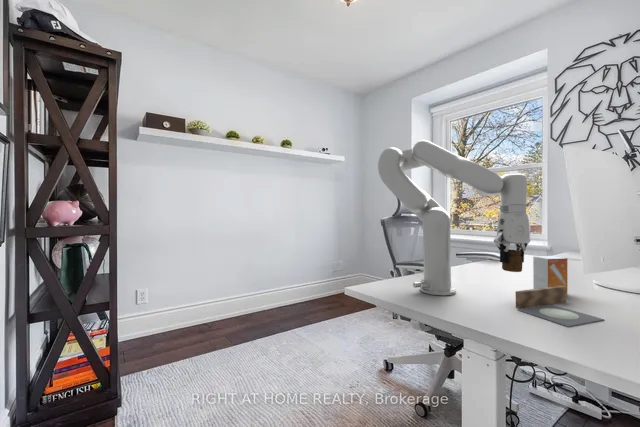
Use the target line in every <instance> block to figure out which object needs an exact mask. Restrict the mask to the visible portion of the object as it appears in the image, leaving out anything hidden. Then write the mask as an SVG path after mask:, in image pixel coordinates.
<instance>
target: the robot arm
mask: <svg viewBox="0 0 640 427" xmlns="http://www.w3.org/2000/svg"><path fill="white" fill-rule="evenodd" d="M378 158H379V159H378V163H377V171H378V174H379V175H378V176H379V177H380V179H381V181H382V183H383V184H384V185H385V186H386V188H387V189H388V190H389V191H390V192H391V193H392V194H393V195H394V196H395V197H396V198H397V199H398V200H399V201H400V202H401V203H402V204H403V206H404V207H405V208H406V209H407V210H408V211H410V212H412V213H413V214H414V215H415V216H416V217H417V218H418V219H419V220H420V221H421V222H422V237H423V238H422V239H423V240H422V242H423V243H422V244H423V246H422V248H423V278H421V280H420V281H414V282H413V283H412V286H413V288H419V291H420V290H421V291H420V292H422V293H425V294H427V295H433V296H452V295H455V294H457V289H456V288H454V287H453V286H452V262H451V261H452V259H451V258H452V257H451V256H452V255H451V253H452V251H451V249H452V248H451V229H452V228H451V227H452V226H451V223H452V222H451V217H450V214H449V212H448V211H447V210H445V209H444V207H442V206H441V205H440V204H439V203H438V202H437V201H436V200H435V199H434V198H433V197H431V195H429V194H428V192H426V191H425V190H424V189H422V188H420V186H418V184H416V183H415V182H414V181H413V180H412V179H411V178H410V177H409V176H408V175H407V174H406V173H405V171H409V170H412V169H416V168H420V167H424V166H425V167H427V168H429V169H430V170H432V171H435V172H437V173H438V174H440V175H442V176H444V177H446V178H450V179H454V180H456V181H457V180H458V181H460V182H462V183H465V184H466V185H468V186H470V187H472V188H474V189H475V190H476V192H477V193H479V195H481V196H485V197H491V196H499V195H500V208H499V214H498V220H497V227H496V230H497V231H496V236H495V237H494V239H493V243H494V244H495V245H496V247H497V248H498V251H499V263H501V264H502V263H509V256H510V253H509V252H508V249H510V246H511V245H512V244H515V245H514V248H515V250H520V251H521V255H520V256H522V264H523V263H524V262H525V251H526V249H527V246H528V244H530V243H531V239H530V238H531V237H530V236H531V234H530V221H529V217H528V214H527V194H528V193H527V192H528V191H527V187H528V178H527V175H525V174H523V173H510V174H509V173H508V174H504V175H502V176H501V175H500V174H499V173H497V172H495V171H493V170H491V169H490V168H488V167H486V166H483V165H481V164H479V163H477V162H474V161H473V160H470V159H468V158H466V157H463V156H460V155H458V154H457V153H454V152H451V151H450V150H447V149H446V148H444V147H441V146H439V145H437V144H435V143H433V142H432V141H429V140H426V139H422V140H418V141H417V142H415V143H414V144H413V146H412V147H411V148H408V149H404V150H400V149H399V148H397V147H394V146H393V147H392V146H391V147H387V148H385V149H383V151H382V152H381V153H380V156H379V157H378ZM504 244H505V246H504ZM522 245H523V246H522ZM517 246H518V247H519V248H518V247H517ZM520 246H522V247H520Z"/></svg>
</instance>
